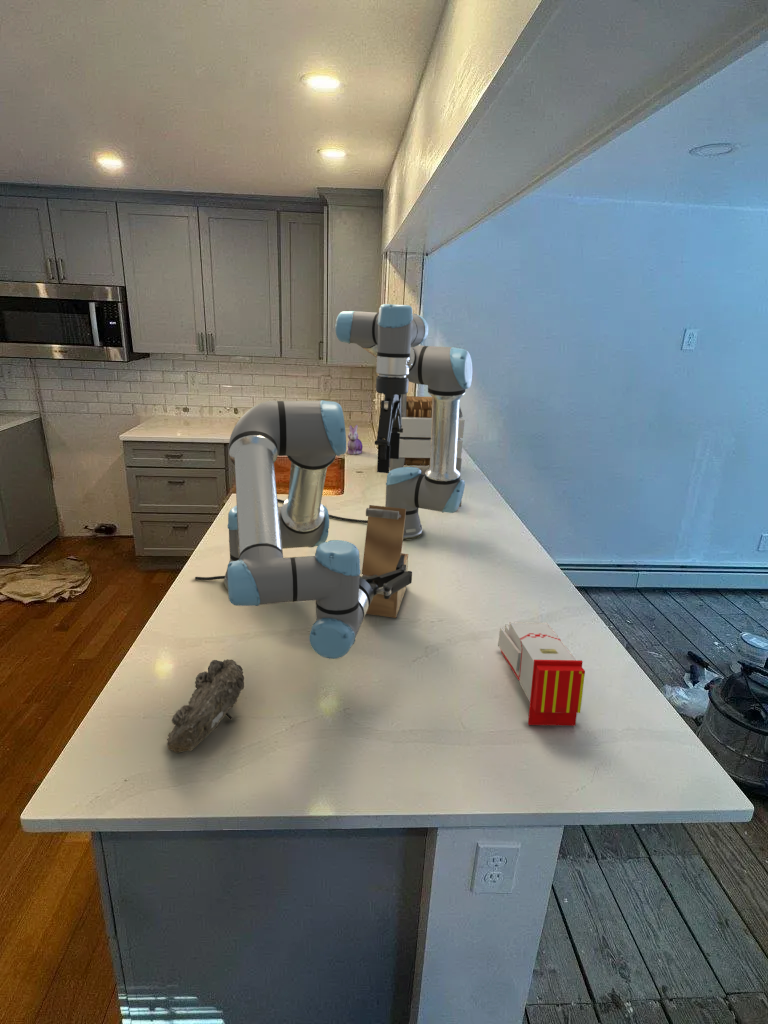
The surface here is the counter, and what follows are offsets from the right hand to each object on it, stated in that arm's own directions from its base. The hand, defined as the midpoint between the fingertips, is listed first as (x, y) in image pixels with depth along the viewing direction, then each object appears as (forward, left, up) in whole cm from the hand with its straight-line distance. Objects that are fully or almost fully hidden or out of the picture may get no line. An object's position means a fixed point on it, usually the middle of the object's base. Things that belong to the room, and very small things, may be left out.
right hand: (388, 465), depth 137 cm
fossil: (+13, -53, -39) cm, 67 cm away
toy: (+44, +5, -39) cm, 59 cm away
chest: (-2, +3, -39) cm, 39 cm away
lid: (+1, -1, -20) cm, 20 cm away
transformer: (-88, +100, -39) cm, 139 cm away
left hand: (+9, -12, -18) cm, 23 cm away
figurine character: (-46, +76, -39) cm, 97 cm away
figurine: (-137, +97, -39) cm, 172 cm away
